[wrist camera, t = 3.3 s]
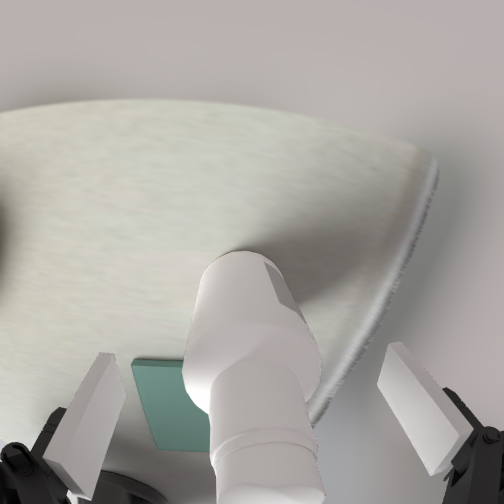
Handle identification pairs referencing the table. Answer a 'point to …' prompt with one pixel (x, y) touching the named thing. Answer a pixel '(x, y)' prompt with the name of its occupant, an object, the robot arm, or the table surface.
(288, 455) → the spray bottle
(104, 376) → the robot arm
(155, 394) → the mat
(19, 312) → the table surface
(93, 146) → the table surface
